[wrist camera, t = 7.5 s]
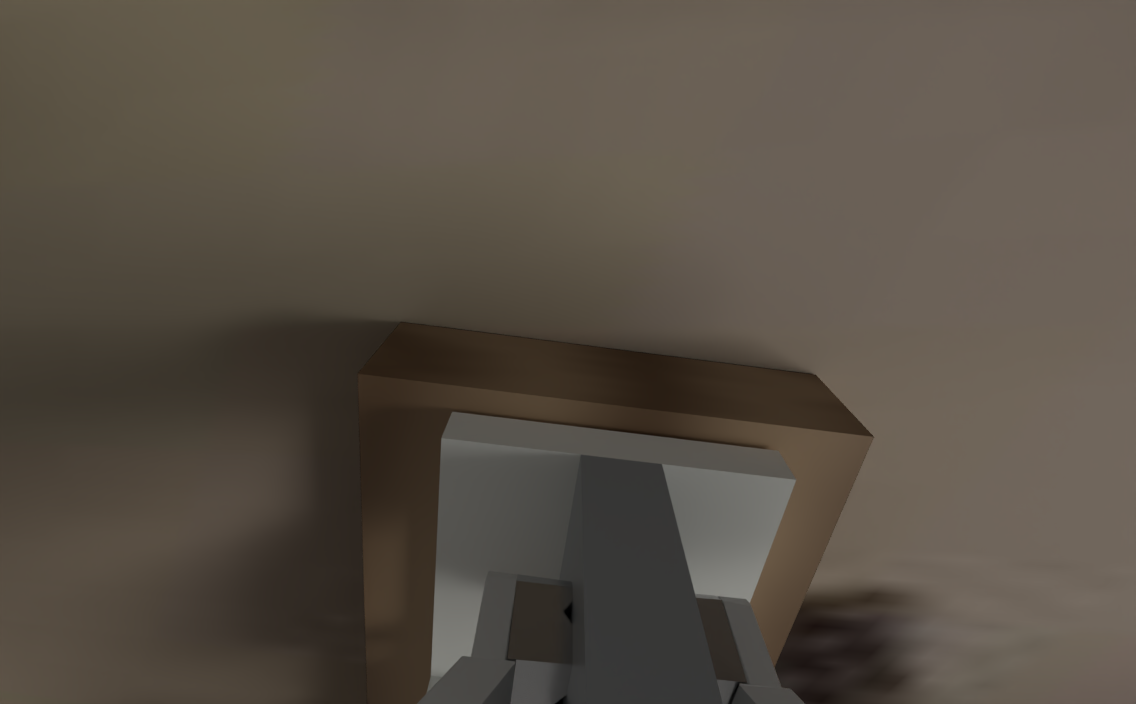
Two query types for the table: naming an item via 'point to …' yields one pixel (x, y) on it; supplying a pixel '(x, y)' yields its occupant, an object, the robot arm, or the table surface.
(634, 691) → the sled
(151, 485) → the table surface
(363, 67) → the table surface
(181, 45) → the table surface
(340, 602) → the table surface
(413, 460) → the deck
